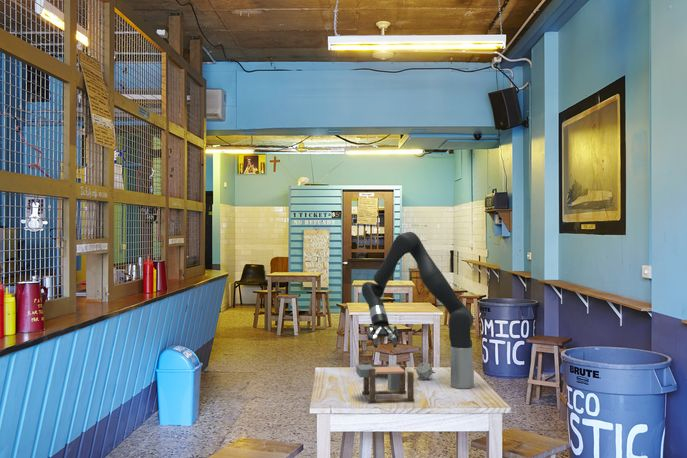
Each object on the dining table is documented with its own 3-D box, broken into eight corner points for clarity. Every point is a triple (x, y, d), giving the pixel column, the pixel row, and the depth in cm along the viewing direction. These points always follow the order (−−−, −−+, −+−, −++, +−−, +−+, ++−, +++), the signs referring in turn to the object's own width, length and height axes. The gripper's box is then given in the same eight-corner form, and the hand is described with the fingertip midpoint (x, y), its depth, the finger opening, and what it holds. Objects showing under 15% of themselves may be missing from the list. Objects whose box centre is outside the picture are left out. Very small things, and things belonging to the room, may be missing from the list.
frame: (404, 392, 254) (404, 361, 255) (414, 401, 239) (414, 368, 239) (362, 393, 252) (362, 362, 252) (369, 403, 237) (369, 369, 237)
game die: (428, 387, 280) (441, 369, 280) (421, 383, 274) (434, 366, 273) (414, 375, 286) (427, 358, 286) (407, 371, 279) (420, 354, 279)
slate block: (398, 388, 262) (398, 364, 262) (402, 390, 257) (402, 367, 258) (387, 388, 261) (387, 365, 261) (390, 391, 256) (391, 367, 256)
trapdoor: (399, 370, 252) (399, 363, 252) (405, 376, 241) (405, 368, 241) (356, 372, 249) (356, 364, 249) (360, 377, 239) (360, 369, 239)
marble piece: (393, 380, 279) (393, 371, 279) (361, 378, 282) (361, 369, 283) (398, 372, 295) (398, 364, 295) (368, 371, 299) (368, 362, 299)
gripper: (365, 312, 278) (371, 342, 266) (395, 312, 281) (403, 341, 269) (362, 322, 283) (368, 352, 271) (392, 322, 286) (399, 351, 274)
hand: (385, 346), depth 270 cm, fingers open, 8 cm apart
